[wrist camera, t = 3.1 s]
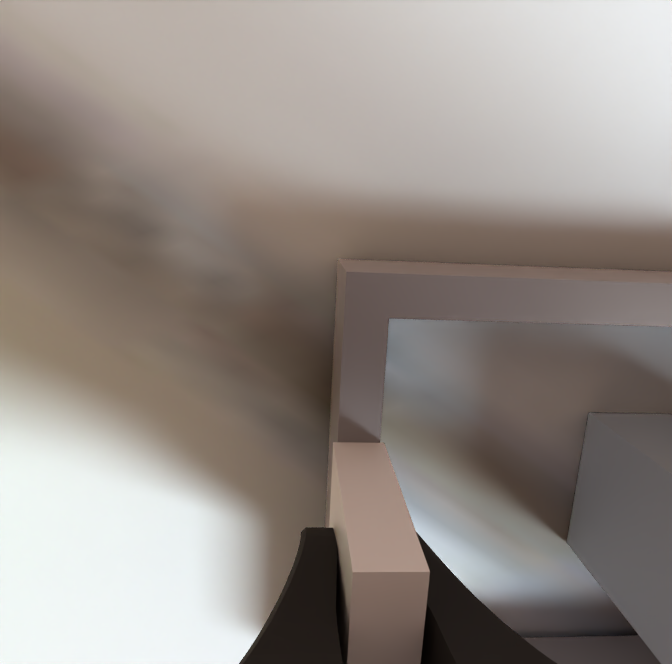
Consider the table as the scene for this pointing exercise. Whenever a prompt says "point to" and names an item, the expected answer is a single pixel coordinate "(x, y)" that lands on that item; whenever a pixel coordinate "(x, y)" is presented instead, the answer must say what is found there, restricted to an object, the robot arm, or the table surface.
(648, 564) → the grey block
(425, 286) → the grey square tray
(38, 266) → the table surface
